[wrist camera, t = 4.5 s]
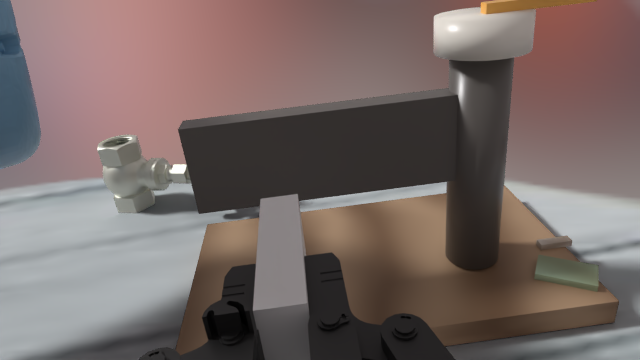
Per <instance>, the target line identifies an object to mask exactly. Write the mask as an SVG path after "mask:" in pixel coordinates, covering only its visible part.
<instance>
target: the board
mask: <svg viewBox="0 0 640 360" xmlns="http://www.w3.org/2000/svg"><path fill="white" fill-rule="evenodd" d="M446 195H447V193H444V194H437V195H429V196H422V197H414V198H406V199H399V200H391V201H383V202H376V203H368V204H360V205H353V206H345V207H337V208H330V209H322V210H315V211H307V212H300V214H301V221H302V228H303V235H304V242H305V249H306V256H308V255H315V254H323V253H330V252H332V253H333V254H334V255H335V256H336V257H337V258H338V259H339V260H340V264H341V269H342V273H343V279H344V283H345V288H346V293H347V298H348V302H349V307H350V310H351V312H352V314H353V315H354V316H355V317H356V318H358V319H359V320H361V321H363V322H366V323H371V324H378V325H382V323H383V322H384V321H385V320H386V318H388V317H390V316H392V315H395V314H400V313H406V314H413V315H415V316H418V317H420V318H421V319H422V320H424V321H425V322H426V323H427V324H428V326H429V327H430V328H431V330H432V331H433V332H434V333H435V335H436V336H437V337H438V338H439V340H440V341H441V342H442V344H443V345H444V346H450V345H457V344H464V343H472V342H479V341H486V340H493V339H500V338H507V337H514V336H521V335H528V334H535V333H542V332H549V331H557V330H564V329H571V328H578V327H585V326H592V325H599V324H606V323H613V322H614V321H615V317H616V313H617V308H618V304H619V301H618V299H617V298H616V297H615V296H614V295H613V294H612V293H611V292H610V291H609V290H608V289H607V288H606V287H605V286H604V285H603V284H602V283H601V282H600V281H599V280H598V265H594V264H588V263H583V262H580V261H579V260H578V259H577V258H576V257H575V256H574V255H573V254H572V253H571V252H570V251H569V250H568V249H567V248H566V247H568V246H572V240H571V239H570V238H569V237H568V236H561V237H555V236H554V235H553V234H552V233H551V232H550V231H549V230H548V229H547V228H546V227H545V226H544V225H543V224H542V223H541V222H540V221H539V220H538V219H537V218H536V217H535V216H534V215H533V214H532V213H531V212H530V211H529V210H528V209H527V208H526V207H525V206H524V205H523V204H522V203H521V202H520V201H519V200H518V199H517V198H516V197H515V196H514V194H513V193H512V192H511V191H510V190H509V189H508V188H507V187H506V186H504V190H503V202H502V215H501V227H500V240H499V252H498V260H497V262H496V263H495V264H494V265H492V266H491V267H488V268H485V269H478V270H473V269H465V268H462V267H459V266H456V265H454V264H453V263H451V262H450V261H449V260H448V259H447V257H446V254H445V245H446ZM258 227H259V218H253V219H246V220H238V221H231V222H223V223H215V224H208V225H207V228H206V232H205V236H204V240H203V244H202V248H201V252H200V256H199V260H198V264H197V267H196V271H195V275H194V279H193V283H192V287H191V291H190V295H189V299H188V303H187V306H186V310H185V314H184V318H183V322H182V326H181V330H180V334H179V338H178V341H177V345H176V349H175V350H176V351H177V352H178V353H179V354H180V355H183V354H185V353H188V352H190V351H193V350H195V349H197V348H199V347H201V346H202V345H204V344H205V343H207V342H208V338H207V334H206V331H205V327H204V324H203V320H202V316H203V313H204V311H205V310H206V309H207V308H208V307H209V306H210V305H212V304H213V303H215V302H217V301H219V300H221V298H222V290H223V284H224V278H225V276H226V274H227V273H228V272H229V270H230V269H231V268H232V267H234V266H241V265H248V264H256V257H257V242H258Z"/></svg>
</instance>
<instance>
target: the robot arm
mask: <svg viewBox="0 0 640 360" xmlns="http://www.w3.org/2000/svg"><path fill="white" fill-rule="evenodd" d="M40 136H41V131H40V124H39V117H38V112H37V107H36V102H35V97H34V93H33V88H32V84H31V80H30V76H29V72H28V68H27V64H26V60H25V56H24V53H23V50H22V48H21V46H20V38H19V34H18V30H17V27H16V21H15V17H14V12H13V9H12V5H11V1H10V0H0V169H3V168H6V167H9V166H13V165H16V164H19V163H21V162H23V161H25V160H27V159H28V158H29V157H31V156H32V155H33V154H34V153H35V151H36V150H37V148H38V146H39V143H40ZM202 320H203V324H204V327H205V331H206V334H207V338H208V342H207V343H205V344H204V345H202V346H201V347H199V348H197V349H195V350H193V351H190V352H188V353H185V354H183V355H180V354H179V353H178V352H177V351H176V350H175V349H171V348H158V349H155V350H153V351H150V352H148V353H146V354H145V355H143V356H142V357H141V358H139V360H455V359H454V358H453V356H452V355H451V354H450V353H449V351H448V350H447V349H446V347H445V346H444V345H443V344H442V342H441V341H440V340H439V338H438V337H437V336H436V335H435V333H434V332H433V331H432V330H431V328H430V327H429V326H428V324H427V323H426V322H425V321H424V320H422V319H421V318H420V317H418V316H415V315H413V314H406V313H400V314H395V315H392V316H390V317H388V318H386V320H385V321H384V322H383V323H382V325H378V324H371V323H366V322H363V321H361V320H359V319H358V318H356V317H355V316H354V315H353V314H352V312H351V310H350V307H349V302H348V298H347V293H346V288H345V283H344V279H343V273H342V269H341V264H340V260H339V259H338V258H337V257H336V256H335V255H334V254H333V253H332V252H330V253H323V254H315V255H308V256H306V249H305V242H304V235H303V228H302V221H301V214H300V207H299V200H298V194H293V195H286V196H278V197H270V198H263V199H260V213H259V227H258V242H257V257H256V264H248V265H241V266H234V267H232V268H231V269H230V270H229V272H228V273H227V274H226V276H225V278H224V284H223V290H222V298H221V300H219V301H217V302H215V303H213V304H212V305H210V306H209V307H208V308H207V309H206V310H205V311H204V313H203V316H202Z"/></svg>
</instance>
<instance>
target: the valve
mask: <svg viewBox="0 0 640 360" xmlns="http://www.w3.org/2000/svg"><path fill="white" fill-rule="evenodd" d="M98 153H99V156H100V159H101V162H102V165H103V166H104V167H103V179H104V182H105V184H106V186H107V188H108V189H109V190H110V191H111V192H112V193H113V194H114V201H115V204H116V207H117V210H118V213H138V212H140V211H142V210H144V209H147V208H149V207H151V206H153V205H154V204H155V195H154V192H153V190H165V189H167V188H168V186H169V184H171V183H172V182H173V183H178V184H191V179H190V175H189V171H188V167H187V165H174V166H173V167H172V166H171V165H169V163H168V161H167V160H166V159H164V158H151V159H150V160H149V161H147V160H146V159H145V158H144V157H143V156H142V155H141V147H140V144H139V140H138V137H137V136H135V135H120V136H115V137H112V138H109V139H106V140H104V141H102V142H100V143H99V144H98Z"/></svg>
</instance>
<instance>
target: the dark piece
mask: <svg viewBox="0 0 640 360" xmlns="http://www.w3.org/2000/svg"><path fill="white" fill-rule="evenodd" d="M594 1H597V0H497V1H488V2H481V7H479V8H467V9H460V10H453V11H448V12H444V13H440V14H437V15H435V16H434V55H436V56H437V57H440V58H444V59H449V88H445V89H437V90H429V91H421V92H413V93H404V94H396V95H388V96H380V97H373V98H365V99H356V100H349V101H340V102H332V103H324V104H316V105H307V106H299V107H293V108H283V109H275V110H268V111H259V112H251V113H243V114H235V115H227V116H219V117H211V118H203V119H195V120H186V121H183V122H182V124H181V125H180V127H179V129H178V131H179V135H180V139H181V143H182V147H183V151H184V155H185V159H186V163H187V167H188V171H189V175H190V179H191V183H192V187H193V191H194V195H195V199H196V203H197V207H198V211H199V214H201V213H209V212H217V211H224V210H232V209H240V208H248V207H255V206H260V199H263V198H270V197H278V196H286V195H293V194H298V200H299V201H301V200H309V199H317V198H324V197H332V196H340V195H347V194H355V193H363V192H371V191H378V190H386V189H394V188H401V187H409V186H417V185H424V184H432V183H440V182H447V195H446V245H445V254H446V257H447V259H448V260H449V261H450V262H451V263H453V264H454V265H456V266H459V267H462V268H465V269H473V270H478V269H485V268H488V267H491V266H492V265H494V264H495V263H496V262H497V260H498V252H499V240H500V227H501V215H502V202H503V190H504V178H505V165H506V153H507V141H508V128H509V115H510V103H511V91H512V79H513V66H514V57H518V56H522V55H525V54H527V53H529V52H531V51H532V46H533V36H534V26H535V16H536V10H535V8H543V7H551V6H561V5H569V4H577V3H585V2H594Z"/></svg>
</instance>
